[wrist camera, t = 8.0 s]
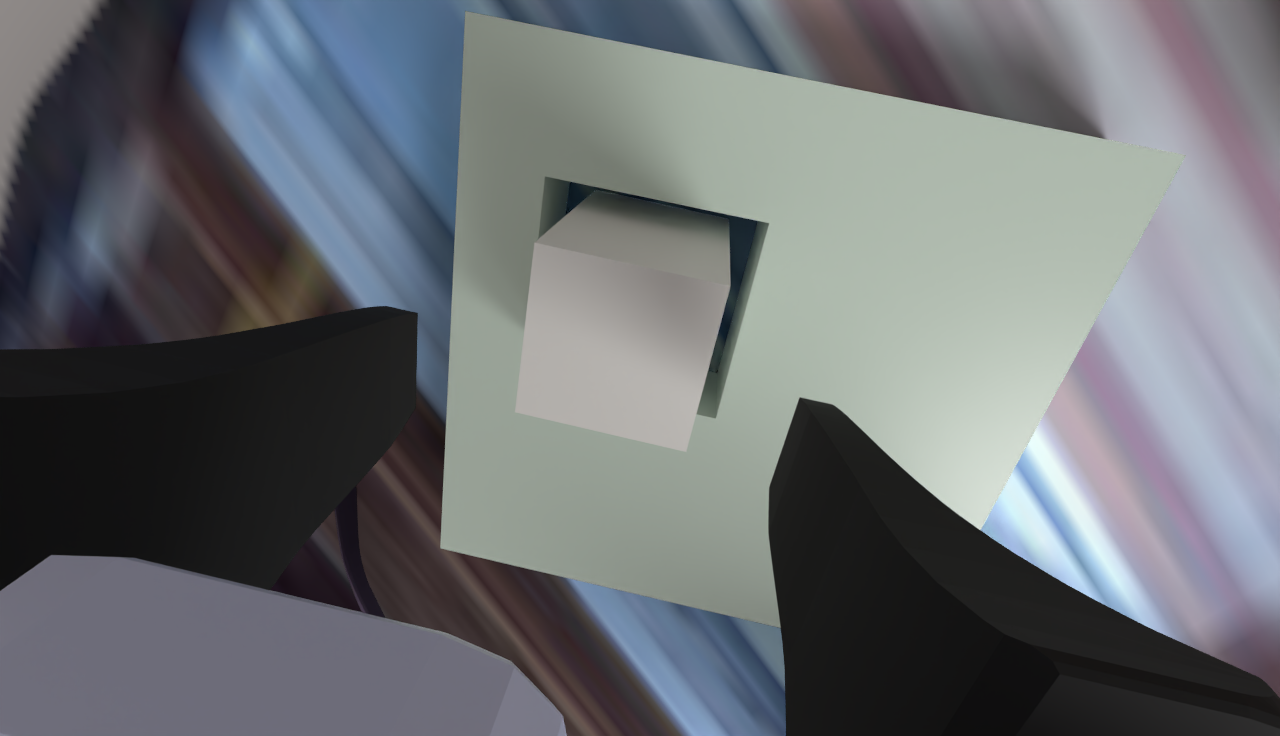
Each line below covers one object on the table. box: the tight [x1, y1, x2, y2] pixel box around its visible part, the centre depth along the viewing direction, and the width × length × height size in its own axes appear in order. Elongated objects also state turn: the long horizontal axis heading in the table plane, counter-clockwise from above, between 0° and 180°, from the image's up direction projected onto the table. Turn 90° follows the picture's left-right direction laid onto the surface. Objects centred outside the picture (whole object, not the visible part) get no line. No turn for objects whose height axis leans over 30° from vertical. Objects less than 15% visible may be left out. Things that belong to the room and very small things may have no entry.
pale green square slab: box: [440, 11, 1186, 628], centre depth 18 cm, size 16×16×3 cm
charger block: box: [515, 190, 731, 452], centre depth 16 cm, size 4×4×6 cm
